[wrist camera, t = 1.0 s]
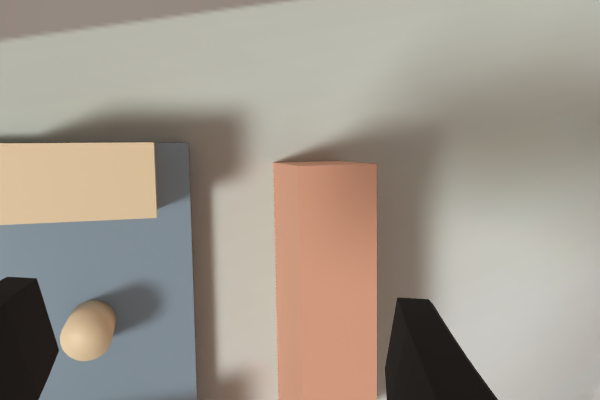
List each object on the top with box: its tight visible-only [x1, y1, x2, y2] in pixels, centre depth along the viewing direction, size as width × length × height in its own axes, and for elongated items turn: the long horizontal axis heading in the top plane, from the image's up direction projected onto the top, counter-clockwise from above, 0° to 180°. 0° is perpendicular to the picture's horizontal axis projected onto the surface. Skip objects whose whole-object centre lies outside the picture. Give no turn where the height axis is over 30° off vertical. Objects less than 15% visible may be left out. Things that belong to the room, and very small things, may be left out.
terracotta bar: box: [273, 161, 377, 400], centre depth 24 cm, size 14×4×5 cm, turn 1°
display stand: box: [0, 142, 197, 400], centre depth 21 cm, size 16×9×4 cm, turn 1°
